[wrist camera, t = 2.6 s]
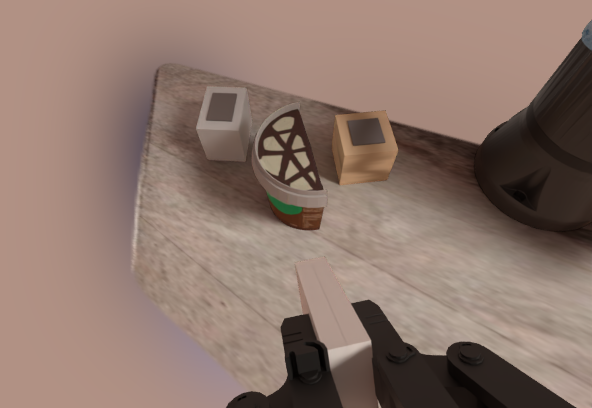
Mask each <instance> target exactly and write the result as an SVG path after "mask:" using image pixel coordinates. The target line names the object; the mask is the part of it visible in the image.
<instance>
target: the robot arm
mask: <svg viewBox="0 0 592 408" xmlns="http://www.w3.org/2000/svg"><path fill="white" fill-rule="evenodd" d="M474 167H475V174H476V177H477V180H478V182H479V185H480V186H481V188H482V190H483V191H484V193H485V194H486V196H487V197H488V198H489V199H490V200H491V201H492V202H493V203H494V204H495V205H496V206H497V207H498V208H499V209H500V210H502V211H503V212H504V213H506V214H507V215H509V216H510V217H512V218H514V219H515V220H517V221H519V222H521V223H524V224H526V225H529V226H532V227H535V228H538V229H543V230H549V231H570V230H575V229H578V228H581V227H584V226H586V225H588V224H589V223H591V222H592V20H591V21H590V22H589V23H588V25H587V26H586V27H585V29H584V30H583V32H582V38H581V39H580V40H579V41H578V43H577V44H576V45H575V47H574V48H573V49H572V50H571V52H570V53H569V54H568V56H567V57H566V58H565V60H564V61H563V62H562V63H561V65H560V66H559V67H558V68H557V70H556V71H555V72H554V74H553V75H552V76H551V77H550V79H549V80H548V81H547V83H546V84H545V85H544V86H543V88H542V89H541V90H540V92H539V93H538V94H537V96H536V97H535V98H534V99H533V101H532V102H531V103H530V105H529V106H528V107H527V108H525V109H523V110H522V111H520V112H519V113H517V114H516V115H514V116H513V117H512V118H511V119H509V121H506V122H504V123H502V124H501V125H499V126H497V127H496V128H495V129H493V130H492V131H491V132H490V133H489V134H488V135H487V137H486V138H485V140H484V141H483V143H482V144H481V145H480V147H479V149H478V150H477V153H476V156H475V161H474ZM295 268H296V274H297V280H298V286H299V292H300V298H301V305H302V311H303V315H299V316H295V317H290V318H285V319H284V321H283V323H282V325H281V333H282V339H283V345H284V351H285V362H286V368H287V373H288V376H287V379H286V382H285V383H284V385H283V386H282V387H281V388H280V389H279V390H277V391H276V392H274V393H273V394H271V395H269V396H267V397H266V396H265V395H263V394H262V393H260V392H252V391H251V392H246V393H243V394H241V395H239V396H237V397H235V398H234V399H233V400H232V401H231V402H230V403H229V404H228V406H227V407H226V408H378V401H379V403H380V405H381V408H576V407H574V406H573V405H571V404H570V403H568V402H567V401H565V400H564V399H562V398H561V397H559V396H558V395H556V394H555V393H553V392H552V391H550V390H549V389H547V388H546V387H544V386H543V385H541V384H540V383H538V382H537V381H535V380H534V379H532V378H531V377H529V376H528V375H526V374H525V373H523V372H522V371H520V370H519V369H517V368H516V367H514V366H513V365H511V364H510V363H508V362H507V361H505V360H504V359H502V358H501V357H499V356H498V355H496V354H495V353H493V352H492V351H490V350H489V349H487V348H486V347H484V346H482V345H480V344H477V343H472V342H458V343H454V344H452V345H451V346H450V347H448V350H447V352H446V355H447V356H442V355H424V354H421V353H419V351H418V350H417V349H416V348H415V347H414V346H412V345H410V344H408V343H405V342H403V341H402V339H401V338H400V336H399V335H398V333H397V332H396V330H395V329H394V328H393V326H392V325H391V323H390V322H389V321H388V319H387V317H386V316H385V314H384V313H383V312H382V310H381V309H380V307H379V306H378V305H377V304H375V303H373V302H372V301H370V300H365V301H361V302H356V303H350V301H349V299H348V298H347V296H346V294H345V292H344V290H343V289H342V287H341V285H340V283H339V281H338V279H337V278H336V276H335V274H334V272H333V270H332V269H331V267H330V265H329V263H328V261H327V259H326V258H325V257H320V258H315V259H310V260H305V261H300V262H295ZM377 399H378V400H377Z"/></svg>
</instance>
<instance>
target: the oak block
mask: <svg viewBox="0 0 592 408" xmlns="http://www.w3.org/2000/svg"><path fill="white" fill-rule="evenodd" d="M332 152H333V156H334V161H335V166H336V171H337V176H338V180H339V185H345V184H355V183H365V182H375V181H384V180H387V179H388V176H389V174H390V171H391V169H392V166H393V163H394V161H395V158H396V156H397V153H398V147H397V144H396V141H395V138H394V135H393V132H392V129H391V126H390V123H389V120H388V117H387V114H386V111H375V112H364V113H353V114H343V115H335V123H334V131H333V139H332Z"/></svg>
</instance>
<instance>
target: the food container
mask: <svg viewBox="0 0 592 408" xmlns="http://www.w3.org/2000/svg"><path fill="white" fill-rule="evenodd" d="M251 159H252V167H253V171H254V174H255V176H256V178H257V180H258V181H259V183H260V184H261V185H262V186H263V188H264V189H265V190H266V192H267V196H268V199H269V202H270V206H271V209H272V211H273V212H274V214H275V215H276V216H277V218H278V219H279V220H281V221H282V222H283V223H285V224H286V225H288V226H290V227H293V228H296V229H300V230H317V229H319V228H320V223H321V219H322V214H323V209H324V207H327V190H323V186H322V184H321V181H320V178H319V174H318V171H317V168H316V164H315V161H314V157H313V153H312V150H311V146H310V143H309V140H308V138H307V134H306V131H305V128H304V125H303V122H302V118H301V115H300V102H295V103H291V104H288V105H286V106H283V107H281V108H279V109H277V110H276V111H275V112H273V113H272V114H270V115H269V116H268V117H267V118H266V119H265V120H264V122H263V123H262V124H261V126H260V128H259V130H258V132H257V134H256V136H255V139H254V142H253V149H252V158H251Z"/></svg>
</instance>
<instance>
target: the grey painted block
mask: <svg viewBox="0 0 592 408" xmlns="http://www.w3.org/2000/svg"><path fill="white" fill-rule="evenodd" d="M251 127H252V115H251V110H250V104H249V98H248V92H247V88H244V87H215V86H207V88H206V92H205V96H204V100H203V104H202V107H201V111H200V115H199V119H198V123H197V126H196V131H197V133H198V136H199V139H200V141H201V144H202V147H203V149H204V152H205V154H206V157H207V160H221V161H244V162H246V157H247V151H248V145H249V139H250V133H251Z"/></svg>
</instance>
